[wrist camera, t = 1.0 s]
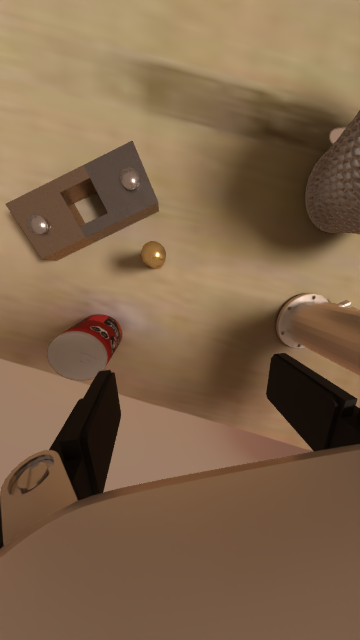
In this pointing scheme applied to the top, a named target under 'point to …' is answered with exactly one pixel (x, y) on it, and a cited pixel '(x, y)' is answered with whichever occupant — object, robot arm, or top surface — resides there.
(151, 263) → the pin
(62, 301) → the top surface
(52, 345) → the canned food
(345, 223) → the vase
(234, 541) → the robot arm
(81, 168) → the bolted slotted plate
